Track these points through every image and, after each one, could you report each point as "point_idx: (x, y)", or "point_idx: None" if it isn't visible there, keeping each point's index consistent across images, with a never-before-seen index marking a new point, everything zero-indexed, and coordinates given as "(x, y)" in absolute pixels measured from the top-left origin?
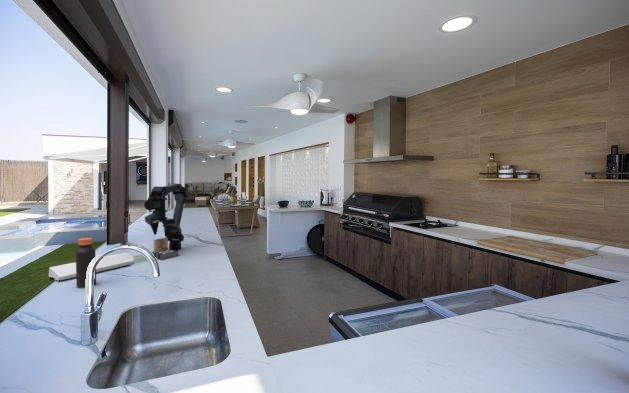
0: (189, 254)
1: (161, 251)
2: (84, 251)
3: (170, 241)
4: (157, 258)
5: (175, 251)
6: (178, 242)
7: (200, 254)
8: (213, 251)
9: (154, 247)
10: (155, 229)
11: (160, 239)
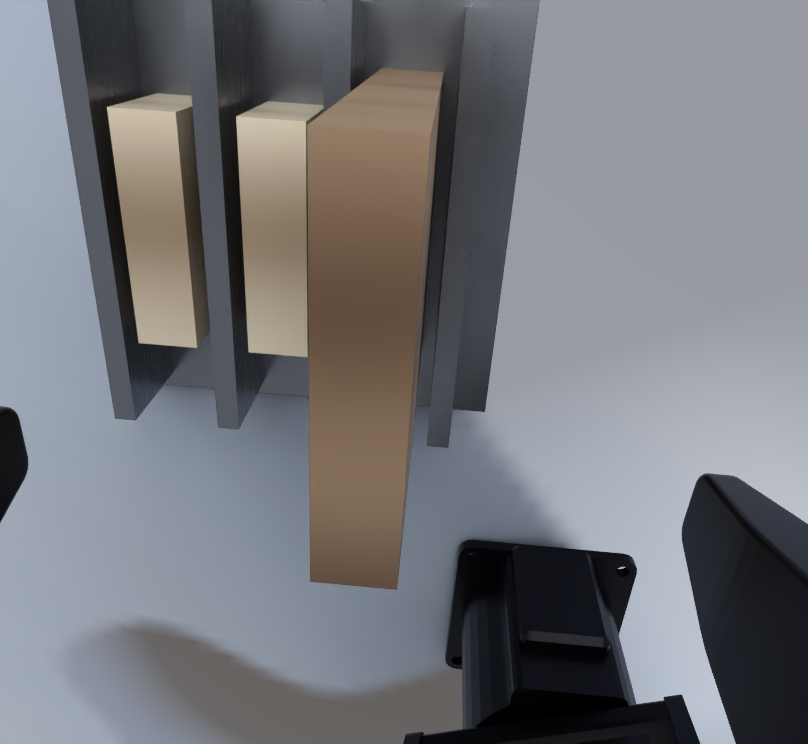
0: (148, 517)
1: None
2: None
3: (591, 693)
4: (293, 32)
5: (107, 351)
6: (463, 724)
7: (23, 567)
8: (40, 715)
9: (404, 94)
10: (801, 726)
11: (309, 338)
